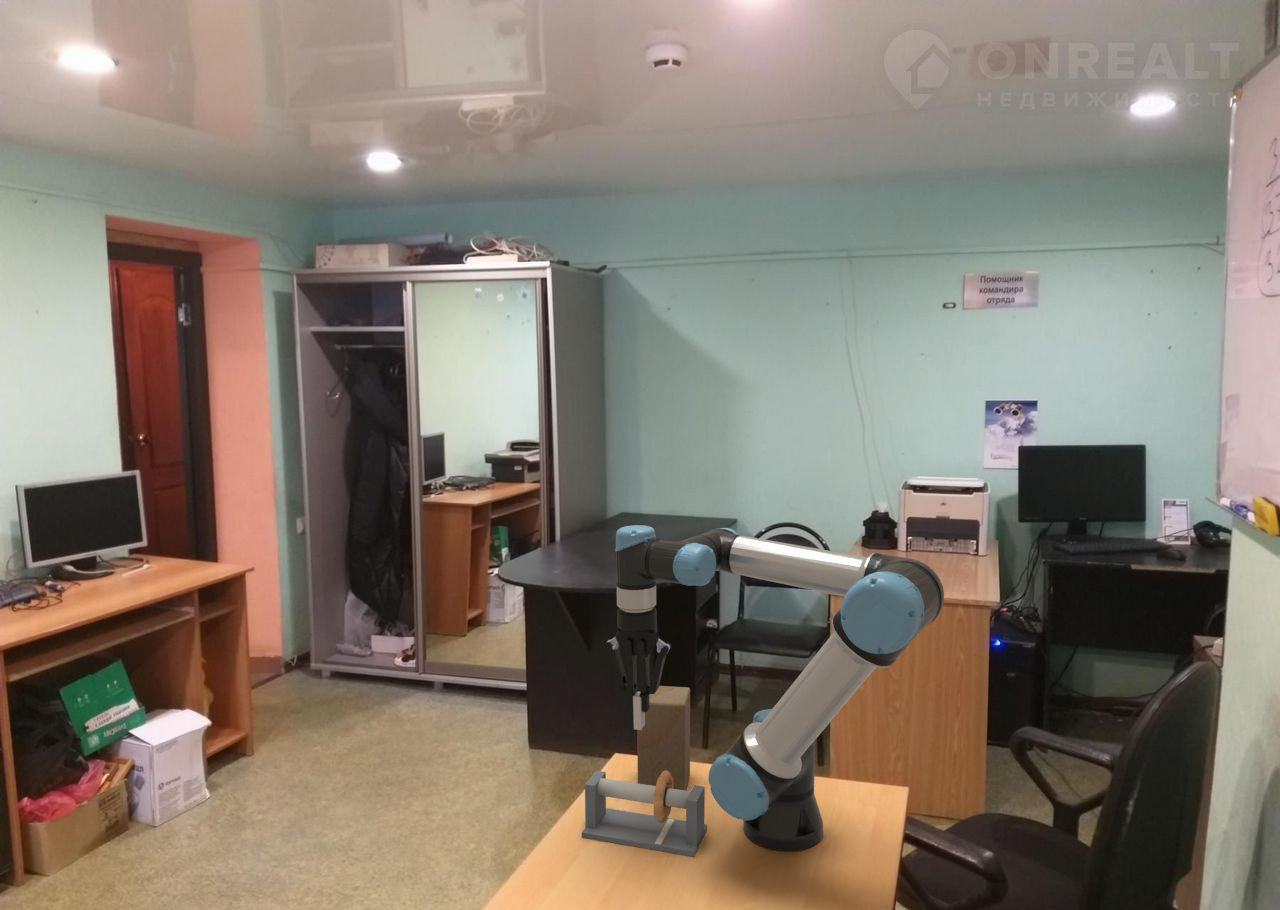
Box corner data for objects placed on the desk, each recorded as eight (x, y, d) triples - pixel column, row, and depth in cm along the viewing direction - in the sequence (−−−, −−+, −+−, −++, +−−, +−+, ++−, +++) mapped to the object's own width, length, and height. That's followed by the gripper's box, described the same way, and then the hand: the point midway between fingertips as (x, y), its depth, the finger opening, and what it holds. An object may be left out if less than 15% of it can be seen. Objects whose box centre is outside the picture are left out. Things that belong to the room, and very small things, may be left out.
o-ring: (674, 808, 174) (674, 764, 173) (661, 830, 166) (661, 785, 165) (665, 806, 175) (665, 763, 174) (652, 829, 166) (652, 784, 165)
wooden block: (637, 793, 187) (636, 701, 185) (644, 772, 197) (644, 684, 195) (684, 797, 186) (684, 704, 183) (690, 775, 195) (690, 686, 193)
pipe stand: (706, 829, 173) (707, 781, 172) (693, 856, 164) (693, 806, 162) (600, 811, 180) (599, 765, 179) (581, 837, 170) (581, 788, 169)
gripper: (674, 604, 172) (677, 722, 175) (610, 600, 176) (613, 716, 178) (664, 614, 165) (667, 738, 167) (597, 610, 169) (601, 731, 171)
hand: (639, 726), depth 173 cm, fingers closed
